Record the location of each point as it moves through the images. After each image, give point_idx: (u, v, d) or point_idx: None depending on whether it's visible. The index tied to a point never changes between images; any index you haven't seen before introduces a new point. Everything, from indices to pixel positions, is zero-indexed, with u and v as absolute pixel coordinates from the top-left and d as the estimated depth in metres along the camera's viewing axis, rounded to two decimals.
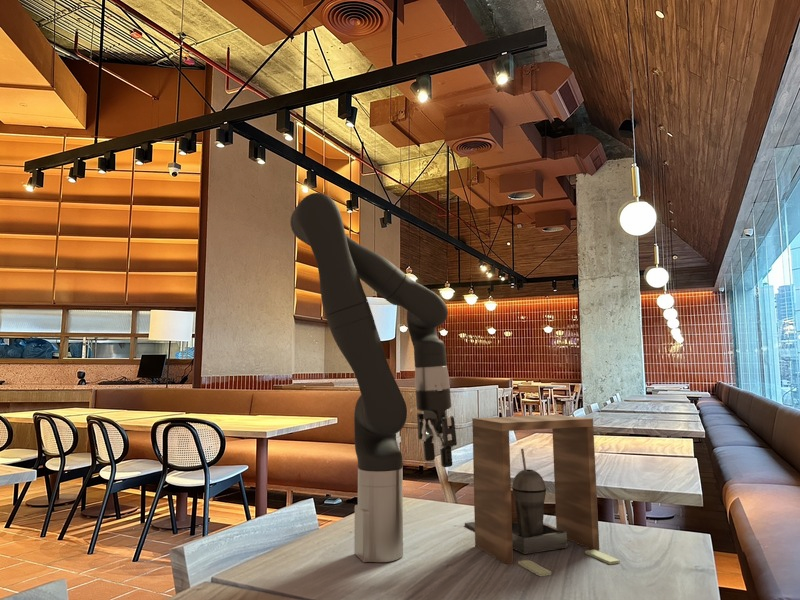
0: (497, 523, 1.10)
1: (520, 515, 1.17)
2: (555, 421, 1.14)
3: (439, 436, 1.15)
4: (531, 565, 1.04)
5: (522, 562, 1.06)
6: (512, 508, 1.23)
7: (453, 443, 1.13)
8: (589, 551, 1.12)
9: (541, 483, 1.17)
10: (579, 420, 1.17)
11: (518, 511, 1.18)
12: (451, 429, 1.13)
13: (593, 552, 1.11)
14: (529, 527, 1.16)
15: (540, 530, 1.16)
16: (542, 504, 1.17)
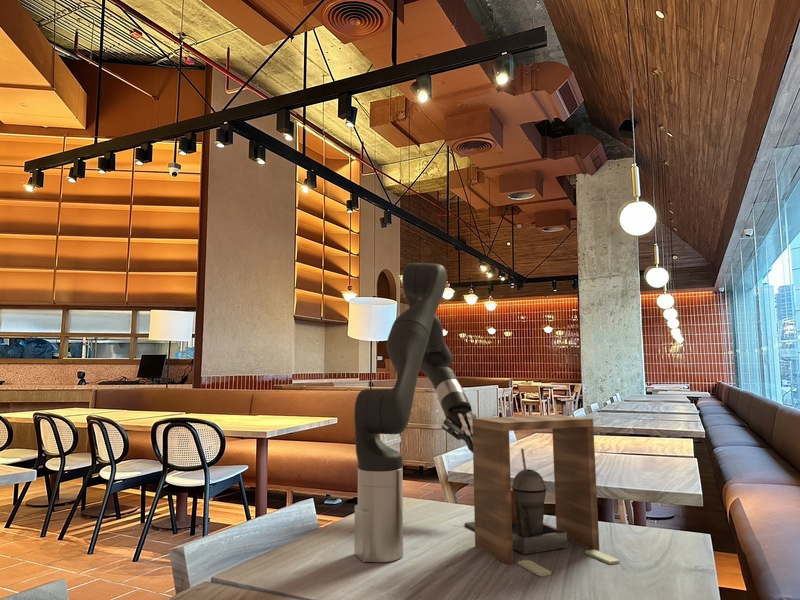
0: (497, 523, 1.10)
1: (520, 515, 1.17)
2: (555, 421, 1.14)
3: None
4: (531, 565, 1.04)
5: (522, 562, 1.06)
6: (512, 508, 1.23)
7: None
8: (589, 551, 1.12)
9: (541, 483, 1.17)
10: (579, 420, 1.17)
11: (518, 511, 1.18)
12: None
13: (593, 552, 1.11)
14: (529, 527, 1.16)
15: (540, 530, 1.16)
16: (542, 504, 1.17)
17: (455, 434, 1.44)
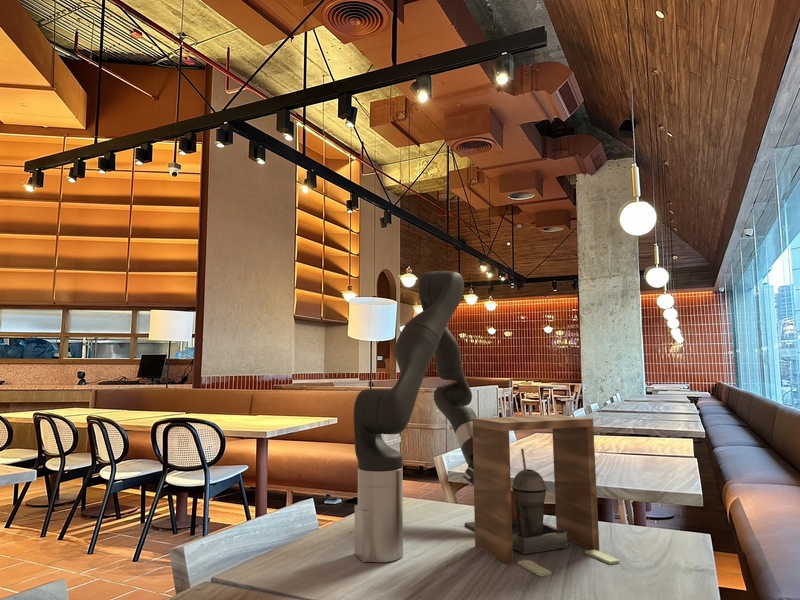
0: (497, 523, 1.10)
1: (520, 515, 1.17)
2: (555, 421, 1.14)
3: None
4: (531, 565, 1.04)
5: (522, 562, 1.06)
6: (512, 508, 1.23)
7: None
8: (589, 551, 1.12)
9: (541, 483, 1.17)
10: (579, 420, 1.17)
11: (518, 511, 1.18)
12: None
13: (593, 552, 1.11)
14: (529, 527, 1.16)
15: (540, 530, 1.16)
16: (542, 504, 1.17)
17: None
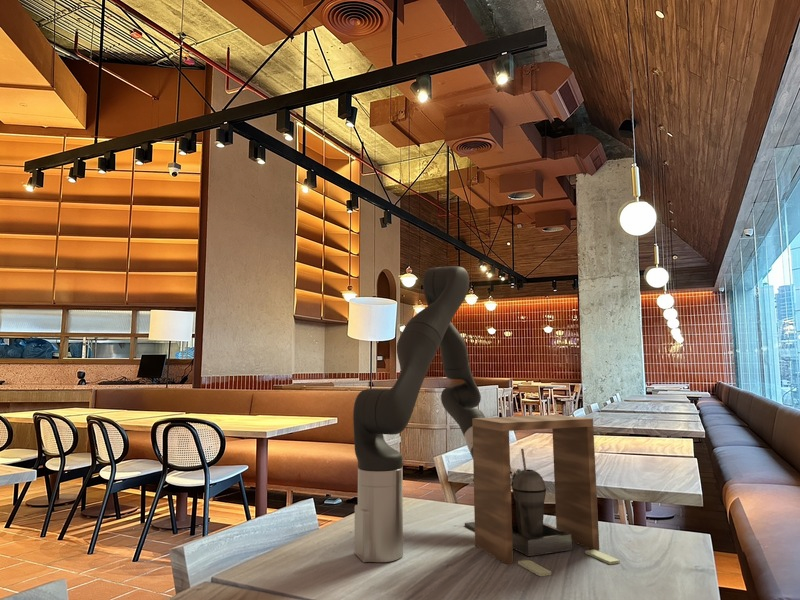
0: (497, 523, 1.10)
1: (520, 515, 1.17)
2: (555, 421, 1.14)
3: None
4: (531, 565, 1.04)
5: (522, 562, 1.06)
6: None
7: None
8: (589, 551, 1.12)
9: (541, 483, 1.17)
10: (579, 420, 1.17)
11: (518, 511, 1.18)
12: None
13: (593, 552, 1.11)
14: (529, 527, 1.16)
15: (540, 530, 1.16)
16: (542, 504, 1.17)
17: None
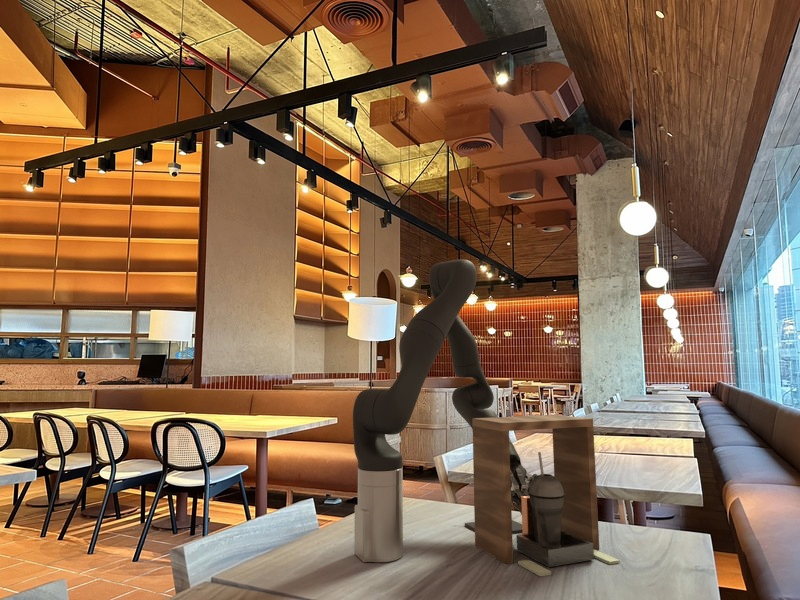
0: (497, 523, 1.10)
1: (537, 522, 1.12)
2: (555, 421, 1.14)
3: None
4: (531, 565, 1.04)
5: (522, 562, 1.06)
6: None
7: None
8: None
9: (559, 489, 1.11)
10: (579, 420, 1.17)
11: (534, 517, 1.12)
12: None
13: None
14: (546, 535, 1.10)
15: (558, 538, 1.11)
16: (560, 511, 1.11)
17: None
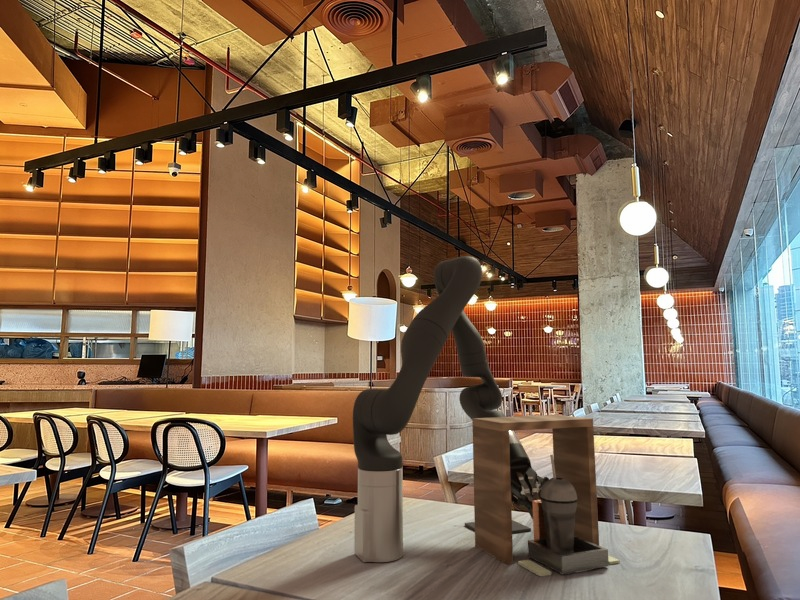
0: (497, 523, 1.10)
1: (549, 527, 1.08)
2: (555, 421, 1.14)
3: None
4: (531, 565, 1.04)
5: (522, 562, 1.06)
6: None
7: None
8: None
9: (572, 493, 1.08)
10: (579, 420, 1.17)
11: (547, 522, 1.08)
12: None
13: None
14: (559, 540, 1.07)
15: (571, 544, 1.07)
16: (573, 515, 1.08)
17: (514, 499, 1.18)
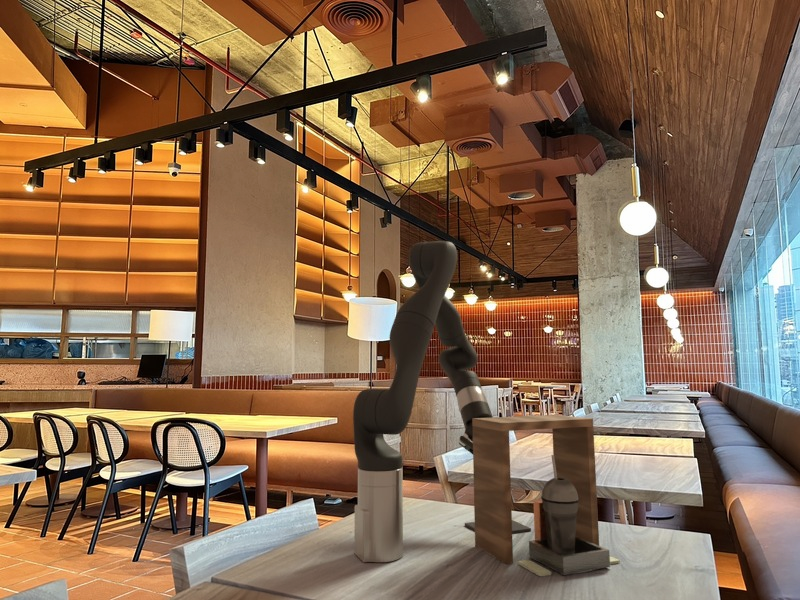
0: (497, 523, 1.10)
1: (550, 527, 1.08)
2: (555, 421, 1.14)
3: None
4: (531, 565, 1.04)
5: (522, 562, 1.06)
6: None
7: None
8: None
9: (574, 493, 1.07)
10: (579, 420, 1.17)
11: (548, 523, 1.08)
12: None
13: None
14: (560, 541, 1.06)
15: (572, 544, 1.07)
16: (574, 516, 1.07)
17: None
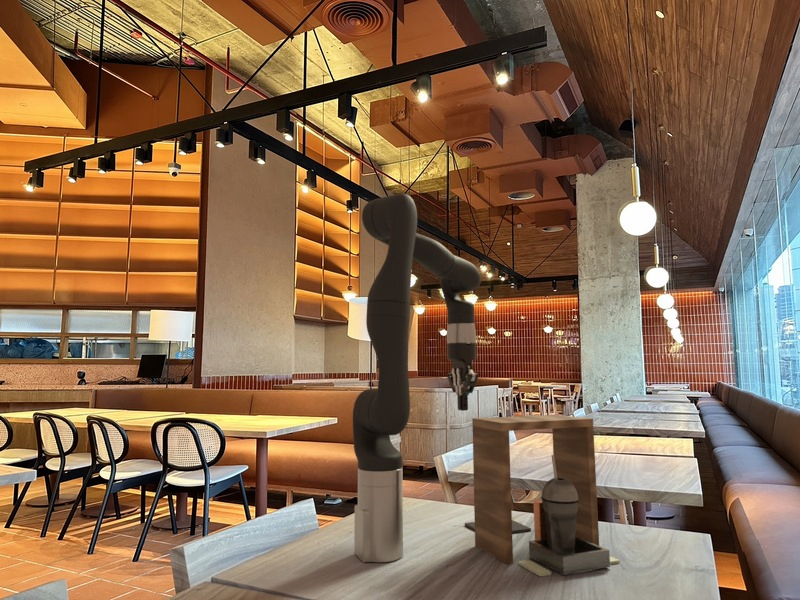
0: (497, 523, 1.10)
1: (550, 527, 1.08)
2: (555, 421, 1.14)
3: (461, 385, 1.39)
4: (531, 565, 1.04)
5: (522, 562, 1.06)
6: None
7: (470, 390, 1.38)
8: None
9: (574, 493, 1.07)
10: (579, 420, 1.17)
11: (548, 523, 1.08)
12: (472, 383, 1.37)
13: None
14: (560, 541, 1.06)
15: (572, 544, 1.07)
16: (574, 516, 1.07)
17: None
